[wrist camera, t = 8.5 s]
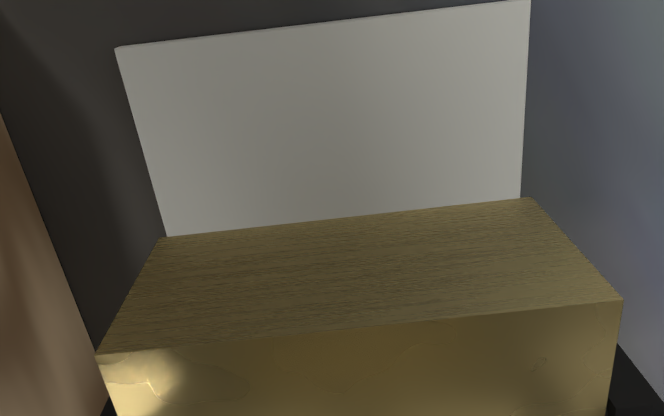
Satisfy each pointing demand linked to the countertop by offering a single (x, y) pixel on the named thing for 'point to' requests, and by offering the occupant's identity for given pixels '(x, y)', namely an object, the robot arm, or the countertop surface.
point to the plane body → (38, 313)
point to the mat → (333, 117)
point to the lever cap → (368, 320)
